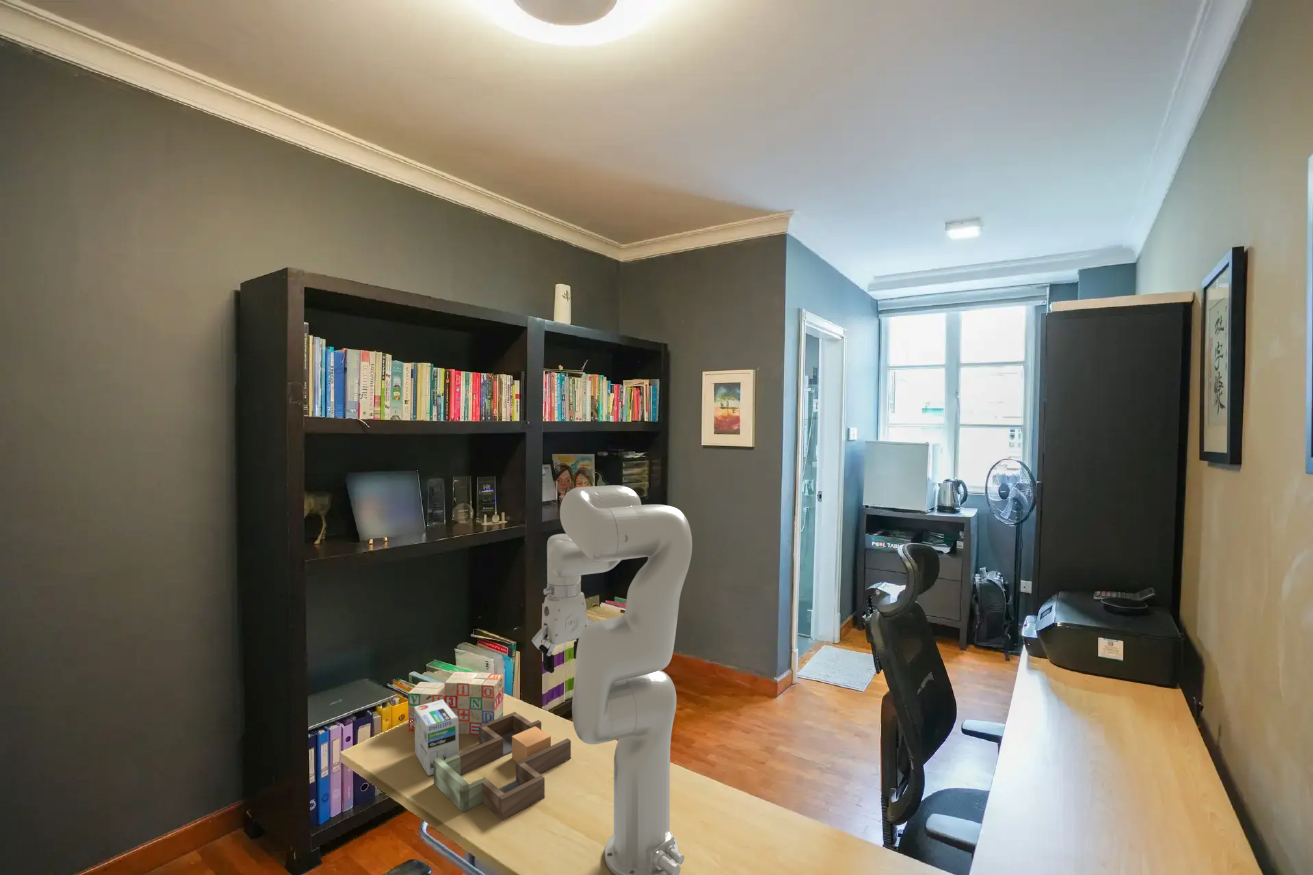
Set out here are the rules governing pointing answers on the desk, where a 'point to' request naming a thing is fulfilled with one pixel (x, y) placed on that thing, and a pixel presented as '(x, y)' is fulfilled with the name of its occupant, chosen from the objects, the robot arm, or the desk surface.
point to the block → (529, 743)
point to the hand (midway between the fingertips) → (564, 664)
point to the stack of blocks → (463, 699)
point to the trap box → (494, 746)
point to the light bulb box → (435, 733)
